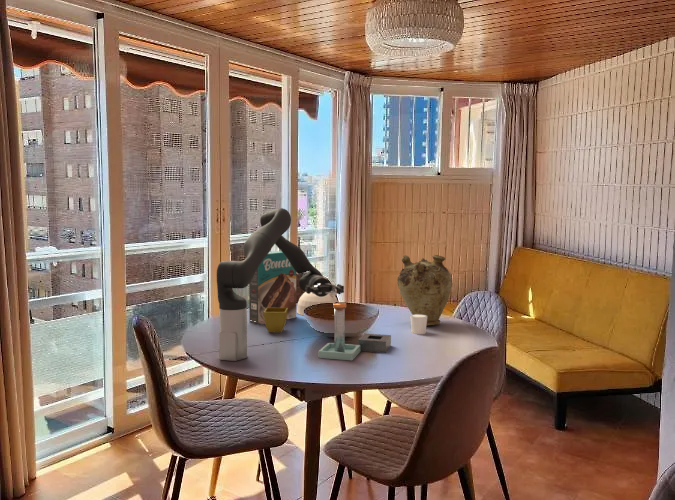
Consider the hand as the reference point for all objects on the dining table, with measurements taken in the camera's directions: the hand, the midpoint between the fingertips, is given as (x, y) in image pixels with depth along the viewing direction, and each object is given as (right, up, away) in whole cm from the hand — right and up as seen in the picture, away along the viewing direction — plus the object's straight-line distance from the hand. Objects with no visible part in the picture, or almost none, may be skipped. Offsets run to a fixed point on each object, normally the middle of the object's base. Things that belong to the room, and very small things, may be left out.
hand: (328, 291), depth 223 cm
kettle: (-6, -14, +61) cm, 63 cm away
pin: (+4, -20, -12) cm, 24 cm away
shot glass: (+36, -18, +22) cm, 46 cm away
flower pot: (-22, -18, +22) cm, 36 cm away
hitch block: (+17, -20, -3) cm, 27 cm away
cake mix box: (-25, -16, +44) cm, 53 cm away
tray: (+4, -21, -12) cm, 25 cm away
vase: (+41, -17, +38) cm, 58 cm away
